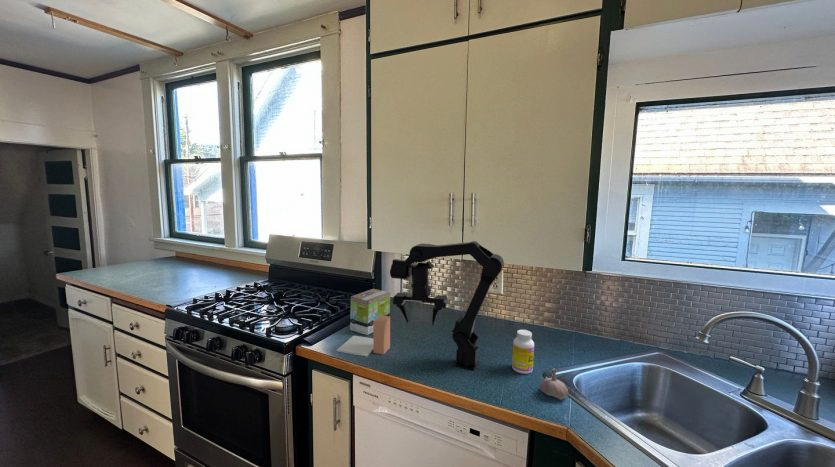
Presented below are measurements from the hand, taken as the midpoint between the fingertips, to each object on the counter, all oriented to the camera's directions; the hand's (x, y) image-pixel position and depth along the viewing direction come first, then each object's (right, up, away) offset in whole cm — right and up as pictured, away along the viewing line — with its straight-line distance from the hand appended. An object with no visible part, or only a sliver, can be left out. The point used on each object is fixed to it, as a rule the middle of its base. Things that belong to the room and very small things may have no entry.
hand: (420, 323), depth 121 cm
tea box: (-21, -9, +26) cm, 34 cm away
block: (-14, -11, +5) cm, 19 cm away
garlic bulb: (+39, -16, -21) cm, 47 cm away
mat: (-23, -11, +8) cm, 26 cm away
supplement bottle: (+34, -14, -7) cm, 37 cm away
